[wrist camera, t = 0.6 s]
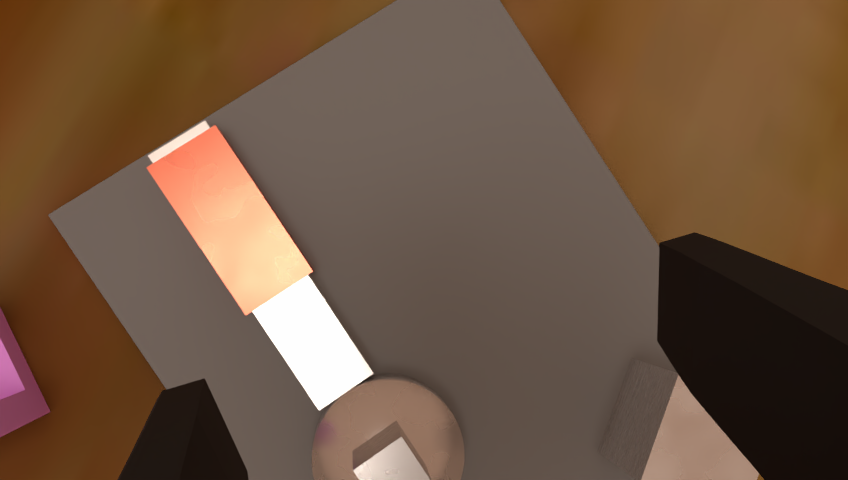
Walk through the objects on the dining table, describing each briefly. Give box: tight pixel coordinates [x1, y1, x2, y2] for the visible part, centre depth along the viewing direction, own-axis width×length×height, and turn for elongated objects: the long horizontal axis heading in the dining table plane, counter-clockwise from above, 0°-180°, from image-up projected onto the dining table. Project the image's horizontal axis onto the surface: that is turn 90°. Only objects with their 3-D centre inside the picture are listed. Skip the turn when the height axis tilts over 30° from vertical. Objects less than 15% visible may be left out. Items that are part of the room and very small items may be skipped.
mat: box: [48, 0, 677, 480], centre depth 34 cm, size 30×24×1 cm
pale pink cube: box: [598, 358, 759, 480], centre depth 33 cm, size 5×5×5 cm
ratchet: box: [146, 121, 464, 480], centre depth 31 cm, size 21×7×5 cm, turn 33°
